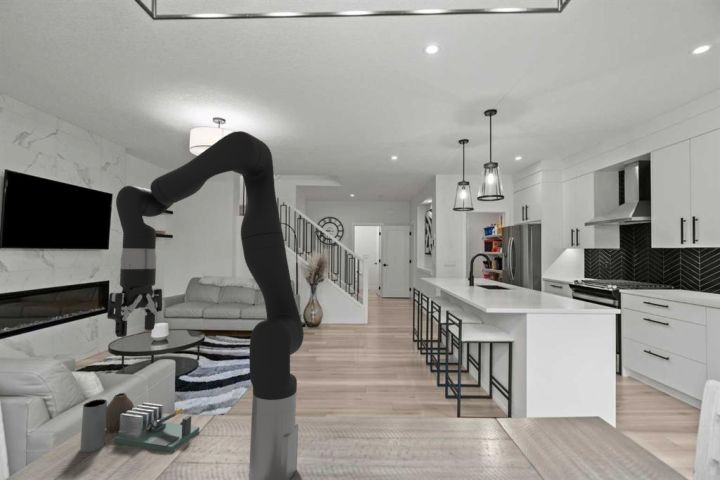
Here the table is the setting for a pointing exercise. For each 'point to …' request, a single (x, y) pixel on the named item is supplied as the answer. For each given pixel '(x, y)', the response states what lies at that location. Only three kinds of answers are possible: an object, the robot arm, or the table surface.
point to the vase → (117, 411)
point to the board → (160, 438)
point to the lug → (186, 425)
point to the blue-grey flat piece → (165, 418)
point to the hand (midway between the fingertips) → (136, 332)
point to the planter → (93, 425)
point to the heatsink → (141, 420)
